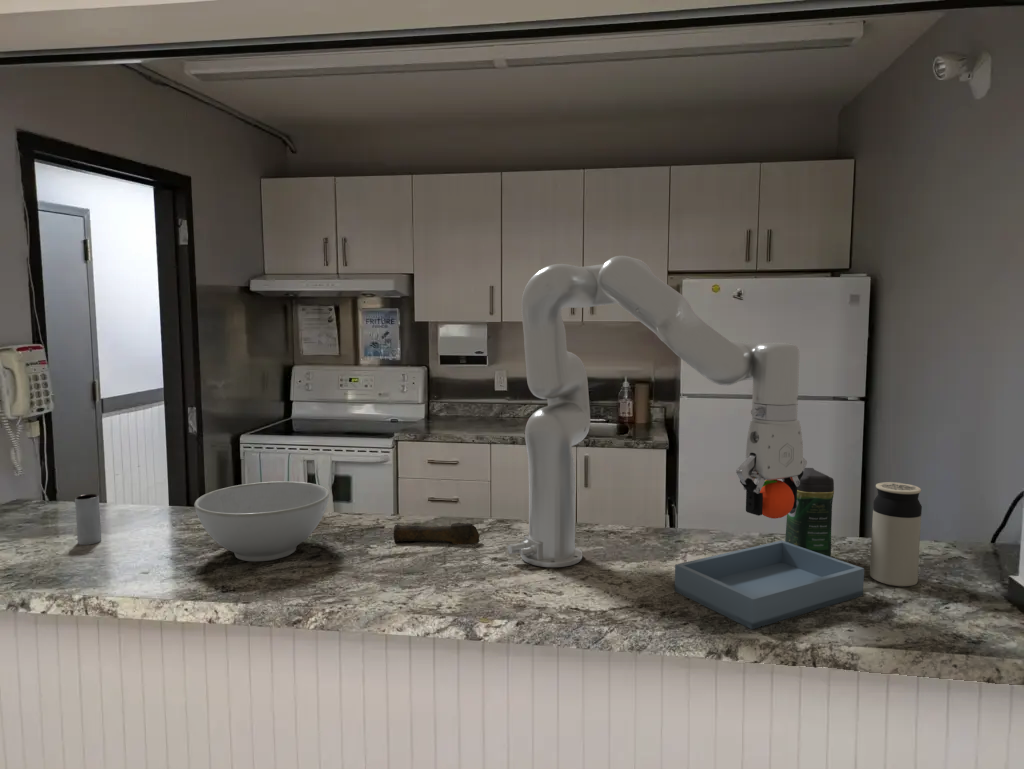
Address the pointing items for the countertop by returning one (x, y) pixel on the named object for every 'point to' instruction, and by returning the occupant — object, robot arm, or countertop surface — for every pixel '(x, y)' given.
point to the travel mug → (896, 534)
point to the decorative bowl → (262, 517)
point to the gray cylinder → (88, 519)
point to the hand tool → (438, 533)
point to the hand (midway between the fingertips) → (771, 509)
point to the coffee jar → (812, 513)
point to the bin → (768, 582)
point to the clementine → (776, 499)
